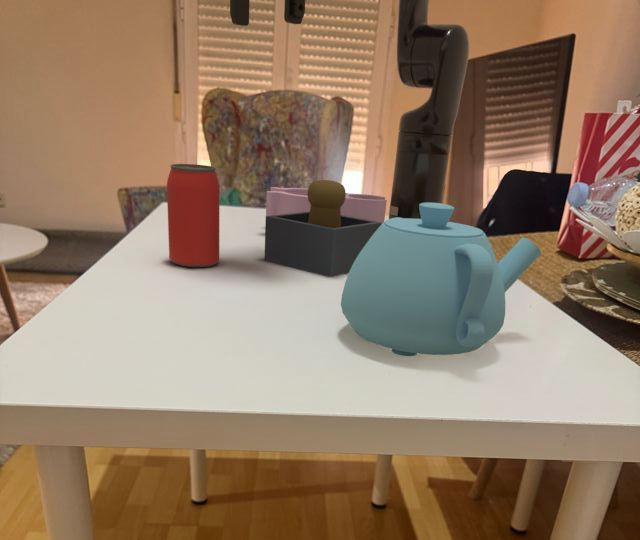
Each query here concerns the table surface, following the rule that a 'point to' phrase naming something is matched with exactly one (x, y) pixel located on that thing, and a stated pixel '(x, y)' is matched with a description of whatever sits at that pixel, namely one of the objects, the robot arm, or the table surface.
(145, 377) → the table surface
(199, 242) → the beer can
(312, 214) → the cork
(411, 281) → the teapot
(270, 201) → the pink elongated piece
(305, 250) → the caddy
